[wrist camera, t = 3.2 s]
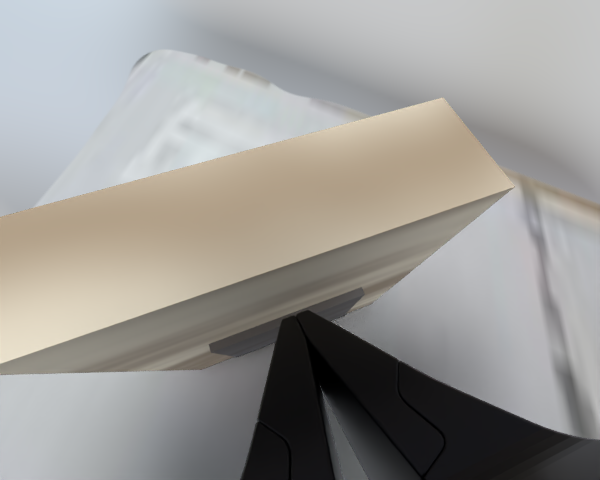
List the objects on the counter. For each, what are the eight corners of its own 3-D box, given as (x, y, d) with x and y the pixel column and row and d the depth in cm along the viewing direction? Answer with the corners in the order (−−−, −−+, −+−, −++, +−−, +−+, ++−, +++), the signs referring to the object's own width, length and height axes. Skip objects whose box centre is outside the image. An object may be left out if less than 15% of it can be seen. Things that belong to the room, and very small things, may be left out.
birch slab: (373, 308, 18) (523, 197, 6) (202, 374, 16) (-37, 395, 5) (351, 262, 19) (442, 97, 8) (191, 319, 18) (-21, 222, 6)
